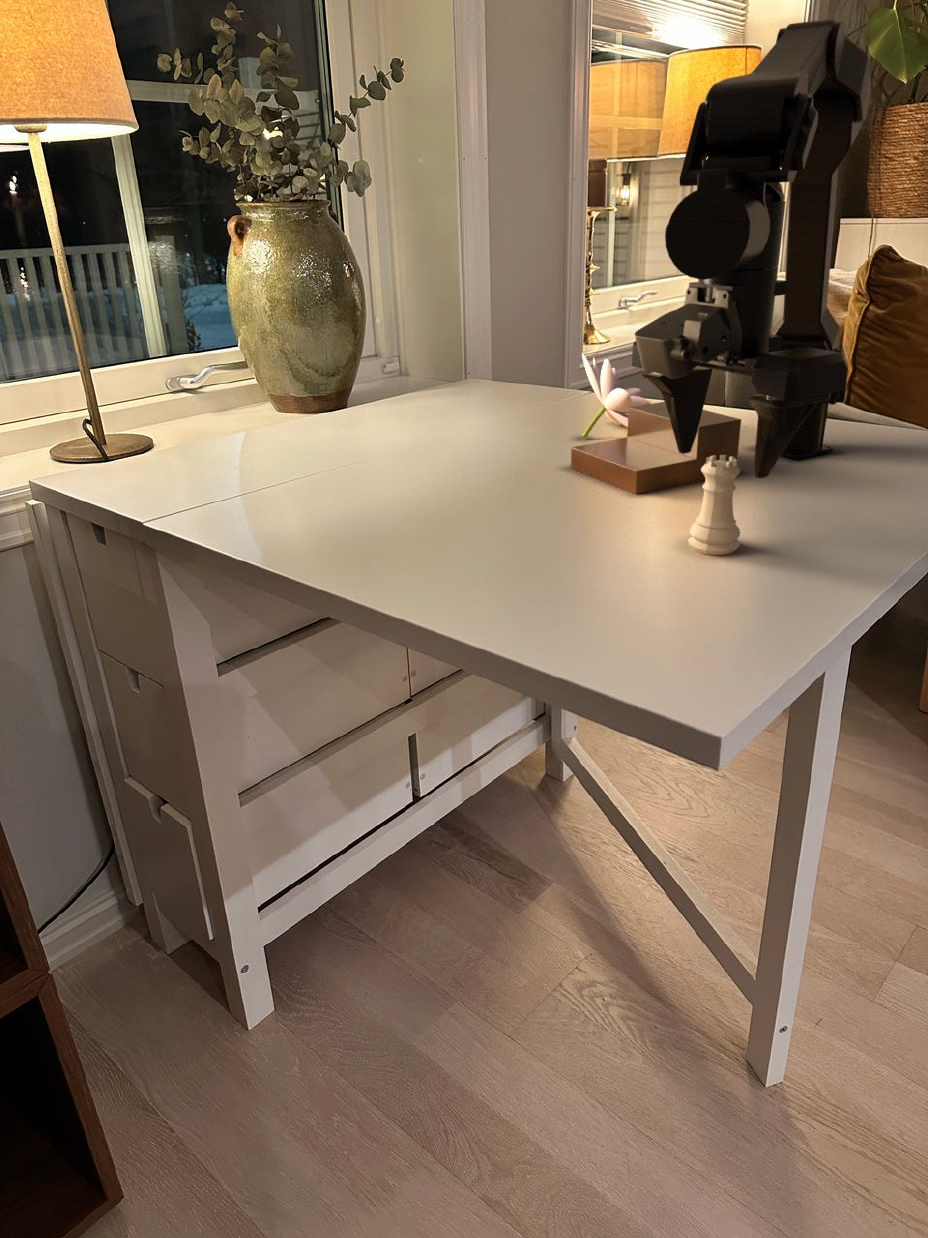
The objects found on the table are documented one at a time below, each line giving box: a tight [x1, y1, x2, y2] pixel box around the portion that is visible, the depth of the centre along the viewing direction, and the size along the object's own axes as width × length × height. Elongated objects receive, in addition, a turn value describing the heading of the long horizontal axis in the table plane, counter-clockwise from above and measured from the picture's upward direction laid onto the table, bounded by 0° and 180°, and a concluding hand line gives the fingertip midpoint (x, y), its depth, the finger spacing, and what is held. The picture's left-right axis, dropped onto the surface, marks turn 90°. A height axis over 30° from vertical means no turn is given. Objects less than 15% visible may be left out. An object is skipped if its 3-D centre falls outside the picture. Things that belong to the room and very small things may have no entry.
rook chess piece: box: [687, 455, 741, 556], centre depth 77 cm, size 4×4×8 cm
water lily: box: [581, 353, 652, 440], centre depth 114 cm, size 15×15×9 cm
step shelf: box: [570, 401, 742, 495], centre depth 99 cm, size 14×12×6 cm
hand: (721, 464), depth 75 cm, fingers open, 9 cm apart
